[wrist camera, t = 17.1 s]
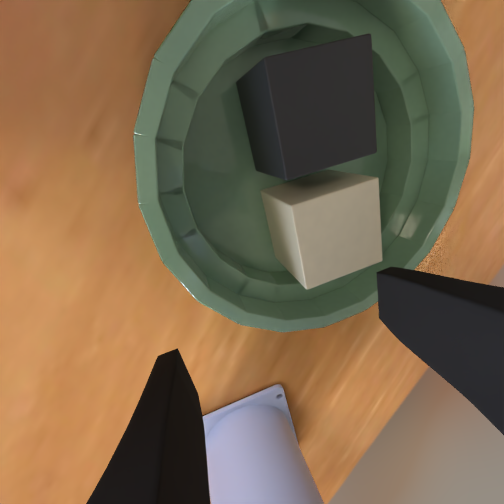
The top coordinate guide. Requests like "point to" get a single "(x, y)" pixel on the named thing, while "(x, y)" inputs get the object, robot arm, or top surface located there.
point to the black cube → (310, 107)
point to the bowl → (252, 182)
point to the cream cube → (325, 225)
